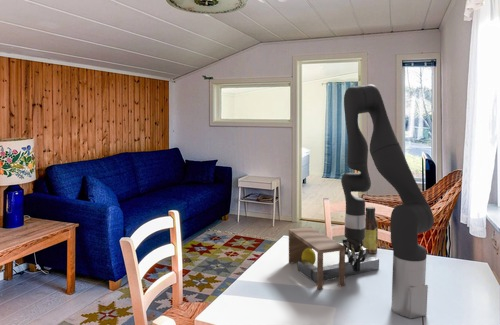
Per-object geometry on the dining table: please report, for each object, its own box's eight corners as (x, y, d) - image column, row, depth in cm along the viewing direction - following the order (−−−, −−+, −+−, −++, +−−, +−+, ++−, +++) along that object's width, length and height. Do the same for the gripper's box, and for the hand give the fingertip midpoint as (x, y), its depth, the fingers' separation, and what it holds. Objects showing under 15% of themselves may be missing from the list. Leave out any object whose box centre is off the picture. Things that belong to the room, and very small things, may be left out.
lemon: (315, 264, 150) (315, 245, 150) (316, 270, 145) (316, 250, 144) (301, 264, 151) (301, 245, 150) (301, 270, 146) (301, 250, 145)
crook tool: (378, 269, 145) (379, 259, 145) (315, 282, 134) (315, 272, 133) (358, 258, 156) (358, 249, 156) (298, 270, 145) (298, 260, 144)
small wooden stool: (344, 285, 131) (345, 246, 130) (319, 289, 128) (319, 250, 127) (310, 259, 156) (310, 226, 154) (288, 262, 153) (288, 229, 151)
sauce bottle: (379, 254, 161) (380, 209, 159) (364, 254, 162) (365, 209, 159) (374, 249, 168) (375, 205, 166) (360, 249, 168) (361, 206, 166)
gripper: (336, 221, 146) (335, 263, 148) (357, 231, 133) (356, 278, 135) (353, 219, 148) (352, 261, 150) (375, 229, 135) (373, 275, 137)
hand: (354, 269), depth 142 cm, fingers closed on crook tool, 3 cm apart
